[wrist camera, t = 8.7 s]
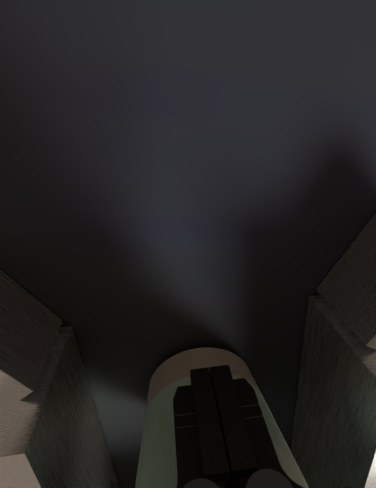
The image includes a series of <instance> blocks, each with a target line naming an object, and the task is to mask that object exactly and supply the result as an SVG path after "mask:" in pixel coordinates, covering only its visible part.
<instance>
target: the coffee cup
mask: <svg viewBox="0 0 376 488" xmlns="http://www.w3.org/2000/svg"><path fill="white" fill-rule="evenodd" d="M221 365H229V367H230V371H231V374H232V378H233V379H239V378H245V379H246V380H247V381H248V383H249V384H250V385H251V386H252V387H253V388H254V390H255V393H256V396H257V399H258V402H259V406H260V408H261V411H262V414H263V417H264V419H265V422H266V425H267V428H268V431H269V434H270V437H271V440H272V442H273V445H274V448H275V451H276V454H277V457H278V460H279V462H280V465H281V467H282V468H283V470H284V472H285V473H286V474H287V475H288V477H289V478H290V479H291V480H293V481H294V482H295V483H297V484H298V485H300V486H302V487H304V488H309V487H308V485H307V483H306V481H305V479H304V477H303V475H302V473H301V471H300V469H299V467H298V465H297V463H296V461H295V459H294V457H293V455H292V453H291V451H290V449H289V447H288V445H287V443H286V441H285V439H284V437H283V435H282V433H281V431H280V429H279V427H278V425H277V423H276V421H275V419H274V417H273V415H272V413H271V411H270V409H269V407H268V405H267V403H266V401H265V399H264V397H263V395H262V394H261V392H260V390H259V388H258V386H257V384H256V382H255V380H254V378H253V376H252V374H251V372H250V370H249V369H248V367H247V365H246V363H245V362H244V361H243V360H242V359H241V358H240V357H239V356H237V355H236V354H234V353H232V352H230V351H227V350H223V349H219V348H210V347H203V348H195V349H190V350H186V351H183V352H181V353H178V354H176V355H174V356H172V357H170V358H169V359H167V360H166V361H165V362H163V363H162V364H161V365H160V366H159V367H158V368H157V369H156V371H155V372H154V374H153V375H152V377H151V380H150V384H149V391H148V397H147V404H146V411H145V418H144V425H143V433H142V440H141V447H140V455H139V462H138V469H137V477H136V484H135V488H177V460H176V444H175V427H174V412H173V398H174V395H175V392H176V390H177V387H179V386H186V385H191V380H190V369H198V368H206V367H208V368H210V367H213V366H221ZM209 372H210V371H209Z"/></svg>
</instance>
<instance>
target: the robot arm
mask: <svg viewBox="0 0 376 488" xmlns="http://www.w3.org/2000/svg"><path fill="white" fill-rule="evenodd" d="M209 371H210V372H209ZM190 380H191V385H186V386H179V387H177V390H176V392H175V395H174V398H173V412H174V427H175V444H176V460H177V488H304V487H302V486H300V485H298V484H297V483H295V482H294V481H293V480H291V479H290V478H289V477H288V475H287V474H286V473H285V472H284V470H283V468H282V467H281V465H280V462H279V460H278V457H277V454H276V451H275V448H274V445H273V442H272V440H271V437H270V434H269V431H268V428H267V425H266V422H265V419H264V417H263V414H262V411H261V408H260V406H259V402H258V399H257V396H256V393H255V390H254V388H253V387H252V386H251V385H250V384H249V383H248V381H247V380H246V379H245V378H239V379H233V378H232V374H231V371H230V367H229V365H221V366H213V367H210V368H208V367H206V368H198V369H190ZM345 488H350V487H345Z"/></svg>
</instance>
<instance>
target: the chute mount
mask: <svg viewBox="0 0 376 488" xmlns="http://www.w3.org/2000/svg"><path fill="white" fill-rule="evenodd" d="M316 291H317V292H318V293H319V294H320V295H315V296H309V297H308V305H307V314H306V322H305V331H304V339H303V348H302V356H301V365H300V373H299V382H298V390H297V399H296V407H295V416H294V424H293V433H292V441H291V450H290V451H291V453H292V455H293V457H294V459H295V461H296V463H297V465H298V467H299V469H300V471H301V473H302V475H303V477H304V479H305V481H306V483H307V485H308V487H309V488H345V487H350V488H376V213H375V214H374V215H373V216H372V218H371V219H370V220H369V222H368V223H367V224H366V225H365V227H364V228H363V229H362V231H361V232H360V233H359V234H358V236H357V237H356V238H355V240H354V241H353V242H352V244H351V245H350V246H349V247H348V249H347V250H346V251H345V253H344V254H343V255H342V256H341V258H340V259H339V260H338V262H337V263H336V264H335V265H334V267H333V268H332V269H331V271H330V272H329V273H328V274H327V276H326V277H325V278H324V280H323V281H322V282H321V283H320V285H319V286H318V287H317V289H316ZM62 322H63V320H61V319H60V318H59V317H58V316H57V315H55V314H54V313H53V312H52V311H50V310H49V309H48V308H47V307H46V306H44V305H43V304H42V303H41V302H39V301H38V300H37V299H36V298H34V297H33V296H32V295H31V294H30V293H28V292H27V291H26V290H25V289H23V288H22V287H21V286H20V285H19V284H17V283H16V282H15V281H14V280H12V279H11V278H10V277H9V276H8V275H6V274H5V273H4V272H3V271H1V270H0V488H119V485H118V481H117V478H116V474H115V471H114V468H113V464H112V461H111V457H110V454H109V451H108V447H107V444H106V440H105V437H104V434H103V430H102V427H101V423H100V420H99V416H98V413H97V410H96V406H95V403H94V399H93V396H92V393H91V389H90V386H89V382H88V379H87V376H86V372H85V369H84V365H83V362H82V359H81V355H80V352H79V348H78V345H77V342H76V338H75V335H74V331H73V328H72V326H66V327H60V326H61V324H62Z"/></svg>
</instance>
